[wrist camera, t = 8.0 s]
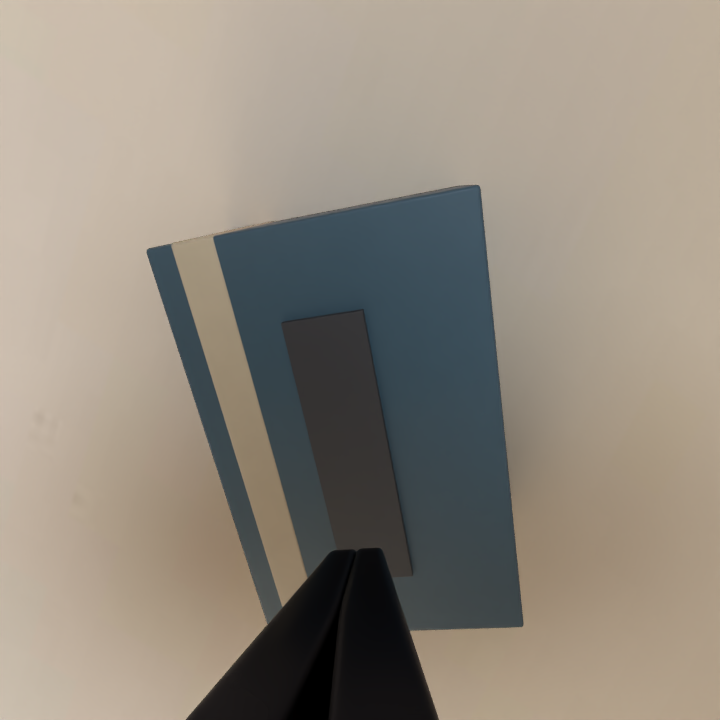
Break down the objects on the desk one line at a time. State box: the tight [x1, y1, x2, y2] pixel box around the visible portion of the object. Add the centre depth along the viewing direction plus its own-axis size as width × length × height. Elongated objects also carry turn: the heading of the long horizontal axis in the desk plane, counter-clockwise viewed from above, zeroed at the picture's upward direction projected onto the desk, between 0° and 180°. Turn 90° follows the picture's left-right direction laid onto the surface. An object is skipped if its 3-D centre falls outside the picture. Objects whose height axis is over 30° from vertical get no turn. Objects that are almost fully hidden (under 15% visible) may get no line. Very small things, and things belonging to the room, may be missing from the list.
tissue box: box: [147, 185, 523, 631], centre depth 13 cm, size 11×5×7 cm
